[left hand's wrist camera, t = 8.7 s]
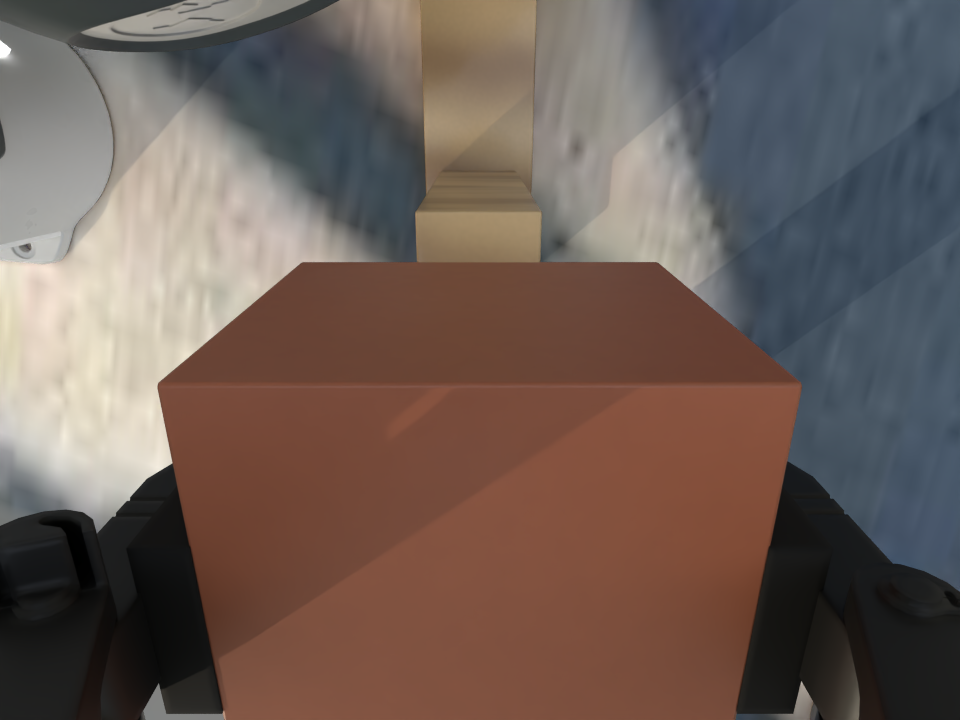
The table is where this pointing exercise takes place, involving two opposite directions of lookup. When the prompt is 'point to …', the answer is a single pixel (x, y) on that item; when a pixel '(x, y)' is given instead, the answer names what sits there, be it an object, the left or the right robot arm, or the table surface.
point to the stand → (478, 132)
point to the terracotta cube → (479, 493)
